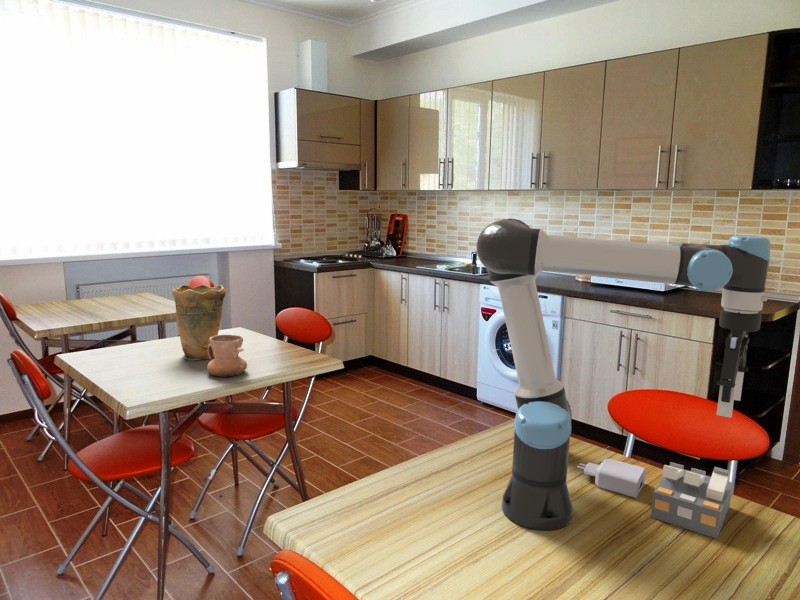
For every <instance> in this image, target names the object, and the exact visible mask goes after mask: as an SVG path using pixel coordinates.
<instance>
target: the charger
mask: <svg viewBox="0 0 800 600" xmlns="http://www.w3.org/2000/svg"><path fill="white" fill-rule="evenodd" d="M576 467H577V468H578V469H582V470H583V475H587V476H592V477H595V479H594V484H595V485H596V486H597V487H598V488H600V489H603V490H607V491H611V492H614V493H617V494H621V495H624V496H628V497H631V498H635V499H637V498H638V496H639V494H640V492H641V490H642V488H643V487H644V485H645V479H646V470H647V469H646V467H642V466H639V465H635V464H631V463H627V462H625V461H624V462H623V461H619V460H616V459H613V458H604V459H603V460H602V462H601V463H600V464H598V463H594V462H590V461H589V462H587V464H585V463H582V462H581V463H579V465H577V466H576Z"/></svg>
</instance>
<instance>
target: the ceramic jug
mask: <svg viewBox="0 0 800 600" xmlns="http://www.w3.org/2000/svg"><path fill="white" fill-rule="evenodd" d="M243 342H244V337H243V336H242V335H240V334H239V335H238V334H237V335H236V334H218V335H216V336H213V337H210V344H209V346H208V355H209V358H208V359H209V360H210V361H209V362H208V364H207V366H206V368H207V371H208V372H209V373H210V374H211V375H214V376H217V377H222V378H223V377H234V376H237V375H240V374H242V373H243V372H245V371H246V370H247V367H248V363H247V361H246V360H245V359H244V358H242V357H241V356H239V353H242V352H243V351H245V348H243V347H242V346H243ZM212 350H213V351H212ZM213 352H214V354H215V357H214V355H213Z"/></svg>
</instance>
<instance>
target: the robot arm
mask: <svg viewBox="0 0 800 600" xmlns="http://www.w3.org/2000/svg"><path fill="white" fill-rule="evenodd" d="M476 253H477V254H476V255H477V258H478V259H479V261H480V263H481V264H482V266H484V268H485V269H487V272H488V276H489V277H488V278H489V281H490V283H491V284H492V285H494V286H495V287H497V288H498V291H499V298H500V301H501V302H500V303H501V306H502V311H503V316H504V320H505V325H506V328H507V329H506V330H507V333H508V339H509V342H510V348H511V353H512V357H513V362H514V366H515V371H516V377H517V380H518V386H517V387H516V389H515V390H514V397H515V401H516V402H515V403H516V406H517V410H516V413H515V418H514V421H513V428H514V433H513V434H514V438H513V448H512V449H513V451H512V463H511V464H512V466H511V476H510V479H508V483H507V485H506V488H505V490H504V492H503V495H502V499H501V500H502V501H501V510H502V513H503V514H504V515H505V516H506V517H507V518H508V519H509V520H510V521H512V522H513V523H515V524H518V525H520V526H522V527H525V528H528V529H533V530H540V531H552V530H553V531H554V530H558V529H563V528H564V527H566V526H568V525H569V524H570V523H571V522H572V519H573V511H574V510H573V509H574V508H573V503H572V500H571V496H570V492H569V491H570V490H569V487H568V484H567V477H568V466H569V465H568V464H569V454H570V453H569V451H570V440H571V434H572V417H573V416H572V415H573V414H572V409H571V405H570V403H569V401H568V399H567V394H566V390H565V385H564V383H563V382H562V381H559V380H560V379H558V378H556V375H555V369H554V363H553V361H552V355H551V351H550V345H549V341H548V335H547V331H546V327H545V322H544V316H543V311H542V307H541V302H540V297H539V293H538V288H537V284H536V283H537V282H536V280H537V277H538V276H539V274H540V273H543V272H547V273H548V272H549V273H558V274H568V275H577V276H578V275H579V276H589V277H598V278H607V279H616V280H617V279H618V280H627V281H636V282H637V281H638V282H649V283H657V284H668V285H677V286H683V287H693V288H697V289H698V290H701V291H717V290H719V289H721V288H722V295H721V302H720V306H721V307H722V309H721V310H720V313H719V320H718V322H719V323H718V325H719V326H720V327H721V328H723V329H727V330H729V331H730V333H729V334H727V336H726V337H725V347H724V352H723V353H724V354H723V355H724V356H723V361H722V366H721V371H720V372H721V373H720V377H719V380H716V382H715V384H716V386H717V385H718V386H719V390H718V401H717V408H716V416H721V417H726V418H730V419H731V418H732V417H733V410H734V401H737V402H738V401H739V402H741V400H742V399H741V397H742V390H743V383H744V377H745V375H744V374H745V373H747V372H748V371H749V367H748V366H747V352H748V345H749V344H750V337H749V333H752V332H758V331H759V330H761V324H762V316H763V315H762V313H761V311H763V306H764V302H767V301H768V297H767V296H763V295H765V291H766V284H767V276H768V272H769V271H768V270H769V264H770V261H771V258H770V257H771V241H770V240H769V238H767V237H765V236H754V235H753V236H752V235H732V236H730V237H729V239H728V242H727V244H720V245H719V244H705V243H701V244H700V243H686V242H680V243H677V242H676V243H675V242H674V243H668V244H658V243H647V242H635V241H624V240H613V239H599V238H591V237H589V238H588V237H578V236H568V235H567V236H566V235H554V234H547V233H546V232H545V231H544V230H543V229H542V228H532V227H530V226H529V225H528V224H527V223H525V222H524V221H522V220H520V219H517V218H503V219H501V220H497V221H494V222H491V223H490V224H488V225H486V226H485V227H484V228H483V229H482V231H481V232H480V234H479V235H478V237H477V241H476ZM557 379H558V380H557Z"/></svg>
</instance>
